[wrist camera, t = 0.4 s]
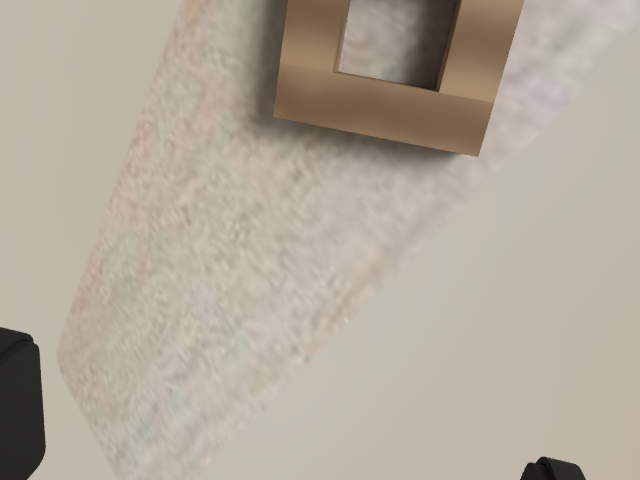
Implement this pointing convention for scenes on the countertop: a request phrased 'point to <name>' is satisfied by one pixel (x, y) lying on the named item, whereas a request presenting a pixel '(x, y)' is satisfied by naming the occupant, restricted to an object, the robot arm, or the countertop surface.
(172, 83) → the countertop surface
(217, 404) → the countertop surface
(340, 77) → the socket block
